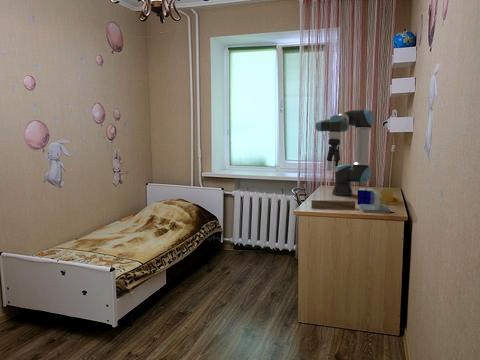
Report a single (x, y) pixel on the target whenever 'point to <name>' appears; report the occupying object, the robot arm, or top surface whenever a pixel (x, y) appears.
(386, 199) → the dollhouse swing
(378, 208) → the steel ridge
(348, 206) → the walnut batten
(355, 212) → the top surface
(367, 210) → the slate base
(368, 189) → the puzzle cube
